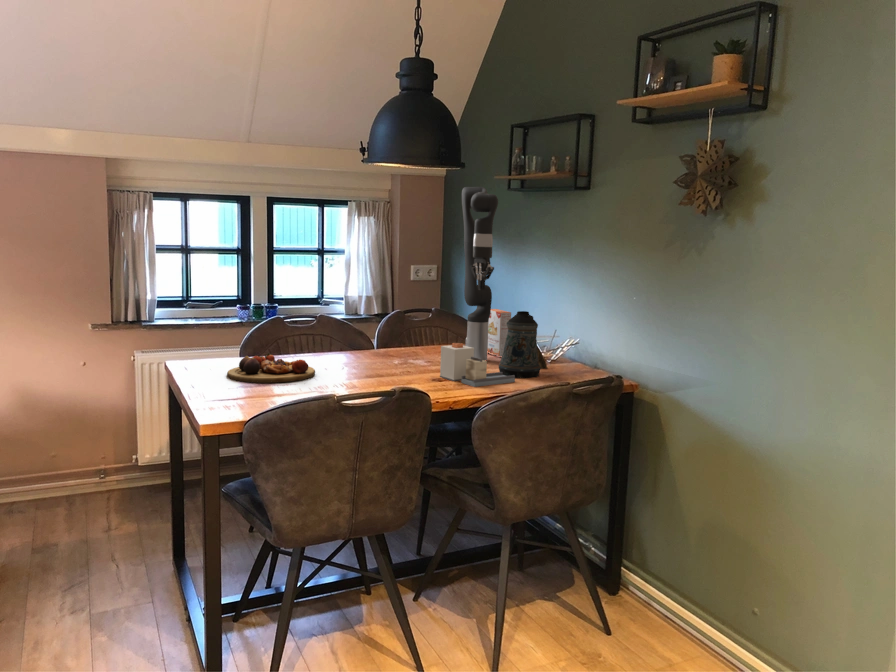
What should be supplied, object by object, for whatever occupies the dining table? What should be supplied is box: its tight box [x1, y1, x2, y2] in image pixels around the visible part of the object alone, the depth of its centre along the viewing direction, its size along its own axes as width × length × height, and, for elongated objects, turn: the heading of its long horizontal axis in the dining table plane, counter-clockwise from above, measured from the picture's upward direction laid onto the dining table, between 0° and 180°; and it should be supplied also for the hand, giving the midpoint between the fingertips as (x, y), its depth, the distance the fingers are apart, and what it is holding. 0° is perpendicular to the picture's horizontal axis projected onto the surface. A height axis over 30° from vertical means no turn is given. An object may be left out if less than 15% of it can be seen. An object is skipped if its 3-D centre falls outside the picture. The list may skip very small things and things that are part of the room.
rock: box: [537, 345, 548, 370], centre depth 297 cm, size 11×9×10 cm
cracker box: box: [488, 308, 512, 356], centre depth 323 cm, size 14×6×21 cm, turn 25°
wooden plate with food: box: [226, 353, 316, 384], centre depth 263 cm, size 32×32×8 cm
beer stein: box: [498, 310, 542, 379], centre depth 279 cm, size 16×19×25 cm
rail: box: [460, 371, 516, 388], centre depth 262 cm, size 8×19×2 cm, turn 125°
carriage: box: [466, 357, 488, 381], centre depth 258 cm, size 6×5×8 cm
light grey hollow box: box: [439, 344, 474, 382], centre depth 267 cm, size 9×9×12 cm
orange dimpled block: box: [451, 342, 464, 348], centre depth 267 cm, size 3×3×9 cm
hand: (481, 289), depth 277 cm, fingers closed
